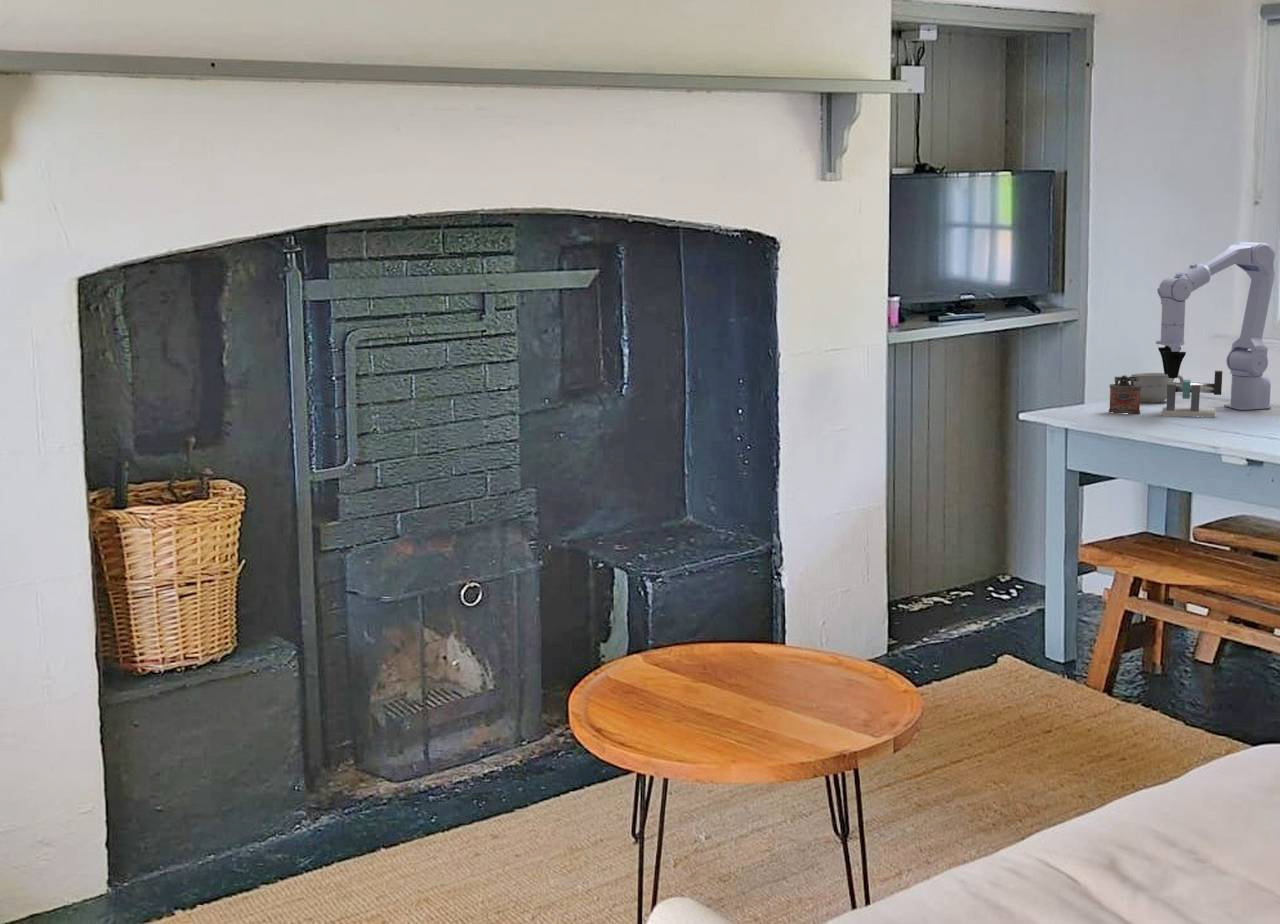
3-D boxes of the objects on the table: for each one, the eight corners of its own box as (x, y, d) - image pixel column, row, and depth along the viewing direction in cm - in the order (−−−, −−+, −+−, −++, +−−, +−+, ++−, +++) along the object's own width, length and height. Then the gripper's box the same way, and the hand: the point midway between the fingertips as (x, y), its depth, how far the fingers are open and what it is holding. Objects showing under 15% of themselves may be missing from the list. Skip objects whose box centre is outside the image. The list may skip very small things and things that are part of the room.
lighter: (1107, 413, 415) (1108, 375, 413) (1110, 411, 418) (1111, 374, 416) (1138, 414, 411) (1140, 377, 409) (1141, 413, 414) (1142, 375, 412)
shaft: (1221, 393, 408) (1222, 370, 407) (1221, 394, 406) (1222, 372, 405) (1166, 392, 413) (1167, 369, 412) (1166, 393, 410) (1167, 370, 409)
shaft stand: (1214, 412, 413) (1216, 382, 411) (1214, 417, 404) (1216, 386, 403) (1162, 410, 417) (1164, 381, 415) (1162, 415, 409) (1163, 385, 407)
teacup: (1130, 404, 430) (1131, 375, 428) (1130, 398, 440) (1131, 370, 438) (1183, 405, 426) (1185, 376, 424) (1182, 399, 436) (1183, 371, 434)
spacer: (1189, 396, 412) (1190, 379, 411) (1189, 398, 408) (1190, 382, 407) (1182, 396, 412) (1183, 379, 412) (1182, 398, 408) (1183, 381, 407)
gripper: (1153, 321, 415) (1151, 372, 418) (1160, 327, 401) (1158, 379, 404) (1181, 321, 414) (1179, 372, 416) (1189, 327, 400) (1187, 379, 402)
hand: (1170, 376), depth 410 cm, fingers open, 7 cm apart
